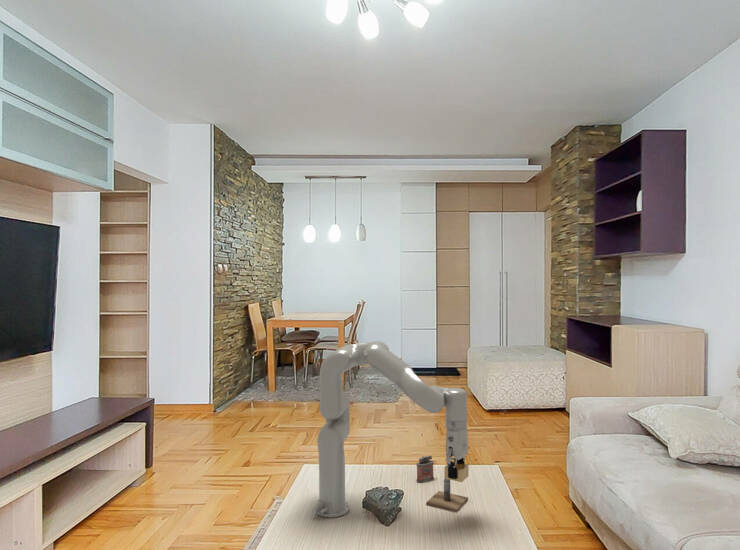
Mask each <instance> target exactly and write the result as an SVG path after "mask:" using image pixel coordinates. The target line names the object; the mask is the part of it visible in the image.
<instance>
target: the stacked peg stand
mask: <svg viewBox="0 0 740 550" xmlns="http://www.w3.org/2000/svg"><path fill="white" fill-rule="evenodd" d="M468 501H469V496H463V495H460V494H455V493H451V480H450V479H445V478H443V491H441V490H438V491H437V492H436V493H434V494H433V495H432V497H430V498H429V499H428V500H427V501H426V502H425V503H426V504H425V506H427V507H428V506H429V507H432V508H436V509H441V510H445V511H448V512H452V513H458V512H459V511H460V510H461V509H462V508H463V506H464V505H465V504H466V503H467V502H468Z"/></svg>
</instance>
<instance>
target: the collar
mask: <svg viewBox="0 0 740 550" xmlns="http://www.w3.org/2000/svg"><path fill="white" fill-rule="evenodd" d="M453 463H454V461H453ZM447 465H448V464H446V465H445V466H444V479H450V481H456V482H460V483H463V482H464V481H465V480H466V479H467V478H468V477H469V475H470V474H469V467H470V466H469V464H466V463H465V464H462V463H456V467H457V479H451V478H448V466H447Z"/></svg>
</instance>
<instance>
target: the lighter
mask: <svg viewBox="0 0 740 550" xmlns="http://www.w3.org/2000/svg"><path fill="white" fill-rule="evenodd" d="M432 459H433V456H432V455H427V456H421V457H419V458H418V462H417V463H416V483H419V484H425V483H429V482H431V481H434V480H435V477H434V460H432Z"/></svg>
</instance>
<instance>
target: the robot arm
mask: <svg viewBox="0 0 740 550" xmlns="http://www.w3.org/2000/svg"><path fill="white" fill-rule="evenodd" d="M365 365H366V366H370V367H371V368H372V369H373V370H375V371H376V372H378V373H379V374H380V375H381V376H384V378H386V379H387V380H389V381H390V382H391V383H393V384H394V385H395V386H396V387H397V388H398V389H399V390H400V391H401V392H402V393H403V394H404V395H405V396H406V397H408V399H410V400H411V401H413V402H414V403H415V404H416V405H418V406H419V407H420V408H422V409H423V410H425V411H426V412H428V413H431V414H438V413H440V412H441V411H442V410H443V409H444V408H445V412H444V413H445V415H444V416H445V418H444V419H445V420H444V421H445V429H446V434H445V457H446V458H445V461H446V465H447V466H448V478H451V479H457V467H456V463H462V464H466V455H468V454H469V439H468V438H469V437H468V431H467V430H468V393H467V390H465V389H464V388H461V387H442V386H437V385H431V386H429V385H428V384H426V382H424V381H423V380H421V379H420V378H419V376H418V375H417V374H416V373H415V372H414V370H413V368H412V367H411V366H410V364H408V363H407V362H406V361H404V360H403V359H401V358H400V357H399V356H397V355H396V354H394V353H393V352H392V351H390V348H389V346H388V345H387V344H386V343H385V342H383V341H380V340H379V341H378V340H377V341H370V342H360V343H352V344H350V343H349V344H346V345H344V346H341V347H340V348H338V349H336V350H334V351H333V352H331V353H329V354H328V355H327V356H325V358H324V359H323V361H322V362H321V364H320V369H319V412H320V415H321V416H322V418H323V419H325V424H324V425H323V426H322V428H321V429H320V430H319V431H318V435H317V442H316V443H317V450H318V476H319V477H318V485H319V486H318V491H319V492H318V494H319V495H318V498H319V499H318V501H317V504H316V505H315V506H314V508H312V509H311V513H312V514H313V515H316V514H317V515H318V516H319V517H323V518H330V519H331V518H332V519H333V518H339V517H343V516H345V515H346V514H348V513H349V511H350V504H349V503H348V502H347V501H346V457H345V441H346V439H347V438H348V437H349V434H350V430H351V427H350V426H351V421H350V420H351V419H350V418H351V417H350V411H351V409H350V405H351V404H350V399H349V397H348V394H347V393H346V392H345V391H344V390H343V388H344V383H343V382H344V381H343V380H344V379H343V374H344V373H345V372H347V371H349V370H351V369H353V368H354V367H356V366H357V367H358V366H365ZM453 462H454V463H453Z"/></svg>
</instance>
